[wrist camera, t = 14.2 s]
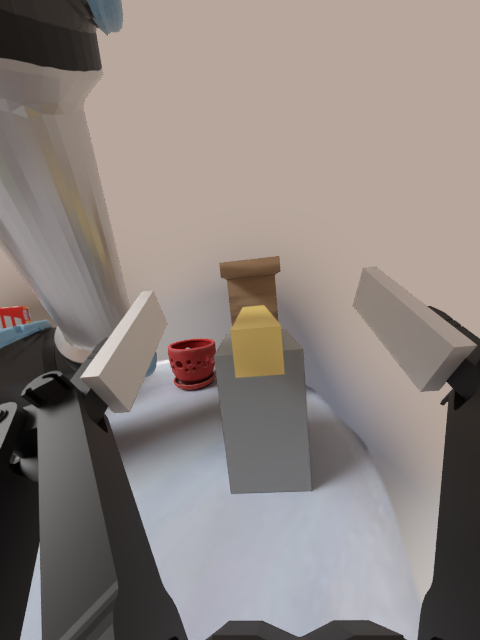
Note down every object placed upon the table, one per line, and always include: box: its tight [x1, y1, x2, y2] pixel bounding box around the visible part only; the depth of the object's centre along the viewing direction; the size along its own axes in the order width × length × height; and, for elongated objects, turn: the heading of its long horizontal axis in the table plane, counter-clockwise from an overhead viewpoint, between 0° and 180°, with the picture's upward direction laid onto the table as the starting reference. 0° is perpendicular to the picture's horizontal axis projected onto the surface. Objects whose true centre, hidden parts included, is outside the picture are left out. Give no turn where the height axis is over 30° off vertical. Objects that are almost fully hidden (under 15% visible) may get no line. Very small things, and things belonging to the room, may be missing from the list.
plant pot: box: [168, 339, 216, 390], centre depth 59 cm, size 13×13×12 cm
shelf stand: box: [220, 256, 280, 326], centre depth 45 cm, size 17×10×30 cm, turn 177°
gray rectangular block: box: [214, 329, 312, 493], centre depth 30 cm, size 12×10×18 cm
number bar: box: [231, 305, 285, 378], centre depth 27 cm, size 22×4×4 cm, turn 177°
